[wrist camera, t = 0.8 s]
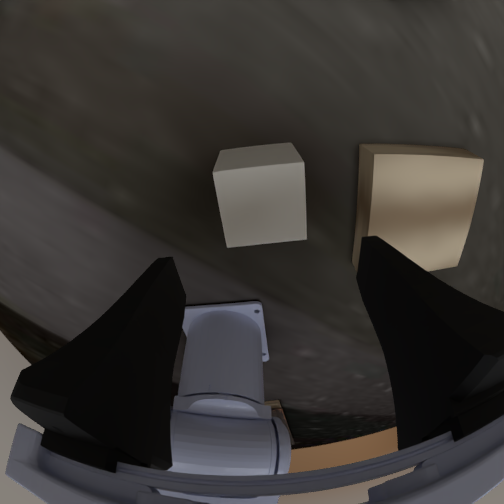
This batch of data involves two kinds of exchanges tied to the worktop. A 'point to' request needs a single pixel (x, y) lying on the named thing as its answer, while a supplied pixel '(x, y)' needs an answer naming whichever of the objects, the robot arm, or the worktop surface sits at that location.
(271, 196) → the cream cube
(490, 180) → the worktop surface
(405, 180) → the oak plinth
